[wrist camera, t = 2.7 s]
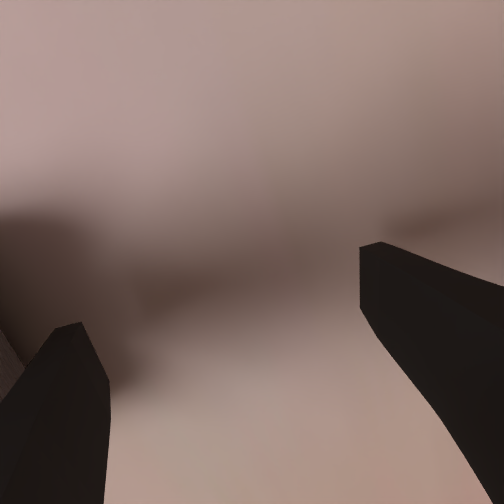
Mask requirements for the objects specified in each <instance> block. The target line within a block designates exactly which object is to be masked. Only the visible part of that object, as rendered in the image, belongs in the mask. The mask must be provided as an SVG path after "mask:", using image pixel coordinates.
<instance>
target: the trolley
mask: <svg viewBox="0 0 504 504" xmlns="http://www.w3.org/2000/svg"><path fill="white" fill-rule="evenodd" d="M24 371H25V368H24V366H23V364H22V363H21V361H20V359H19V358H18V356H17V355H16V353H15V351H14V350H13V348H12V347H11V345H10V343H9V342H8V340H7V338H6V337H5V335H4V334H3V332H2V330H1V329H0V403H1V401H2V400H3V399H4V397H5V396H6V395H7V393H8V392H9V391H10V389H11V388H12V387H13V385H14V384H15V383H16V381H17V380H18V379H19V377H20V376H21V375H22V373H23V372H24Z"/></svg>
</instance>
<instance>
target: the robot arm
mask: <svg viewBox="0 0 504 504" xmlns="http://www.w3.org/2000/svg"><path fill="white" fill-rule="evenodd" d="M359 250H360V309H361V310H362V312H363V314H364V316H365V317H366V319H367V321H368V323H369V325H370V326H371V328H372V329H373V331H374V333H375V334H376V336H377V338H378V339H379V340H380V342H381V343H382V344H383V346H384V347H385V348H386V350H387V351H388V352H389V353H390V355H391V356H392V357H393V359H394V360H395V361H396V362H397V364H398V365H399V366H400V367H401V369H402V370H403V371H404V372H405V374H406V375H407V376H408V378H409V379H410V380H411V381H412V383H413V384H414V385H415V386H416V388H417V389H418V390H419V391H420V393H421V394H422V395H423V396H424V398H425V399H426V400H427V402H428V403H429V404H430V405H431V407H432V408H433V409H434V411H435V412H436V414H437V415H438V416H439V418H440V419H441V421H442V422H443V424H444V425H445V427H446V428H447V430H448V431H449V433H450V434H451V436H452V438H453V439H454V441H455V442H456V444H457V445H458V447H459V449H460V450H461V452H462V453H463V455H464V456H465V458H466V460H467V461H468V463H469V465H470V466H471V468H472V469H473V471H474V473H475V474H476V476H477V478H478V479H479V481H480V483H481V484H482V486H483V488H484V489H485V491H486V493H487V494H488V496H489V498H490V499H491V501H492V503H493V504H504V287H503V286H500V285H497V284H494V283H491V282H488V281H485V280H482V279H479V278H476V277H473V276H470V275H468V274H465V273H462V272H459V271H457V270H454V269H451V268H449V267H446V266H444V265H441V264H439V263H436V262H433V261H431V260H428V259H426V258H423V257H421V256H418V255H416V254H413V253H411V252H408V251H406V250H403V249H401V248H398V247H395V246H393V245H390V244H387V243H384V242H377V243H374V244H370V245H366V246H362V247H359ZM110 424H111V407H110V386H109V379H108V377H107V375H106V373H105V370H104V368H103V366H102V364H101V362H100V360H99V358H98V356H97V354H96V352H95V349H94V347H93V345H92V343H91V341H90V339H89V337H88V335H87V333H86V331H85V328H84V326H83V324H82V322H78V323H75V324H71V325H67V326H63V327H60V328H56V329H55V330H54V331H53V332H52V333H51V335H50V336H49V337H48V339H47V340H46V341H45V343H44V344H43V346H42V347H41V348H40V350H39V351H38V353H37V354H36V355H35V357H34V358H33V359H32V361H31V362H30V364H29V365H28V366H27V368H26V369H25V371H24V372H23V373H22V375H21V376H20V377H19V379H18V380H17V381H16V383H15V384H14V385H13V387H12V388H11V389H10V391H9V392H8V393H7V395H6V396H5V397H4V399H3V400H2V401H1V403H0V504H103V503H104V492H105V481H106V470H107V459H108V448H109V436H110Z"/></svg>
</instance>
